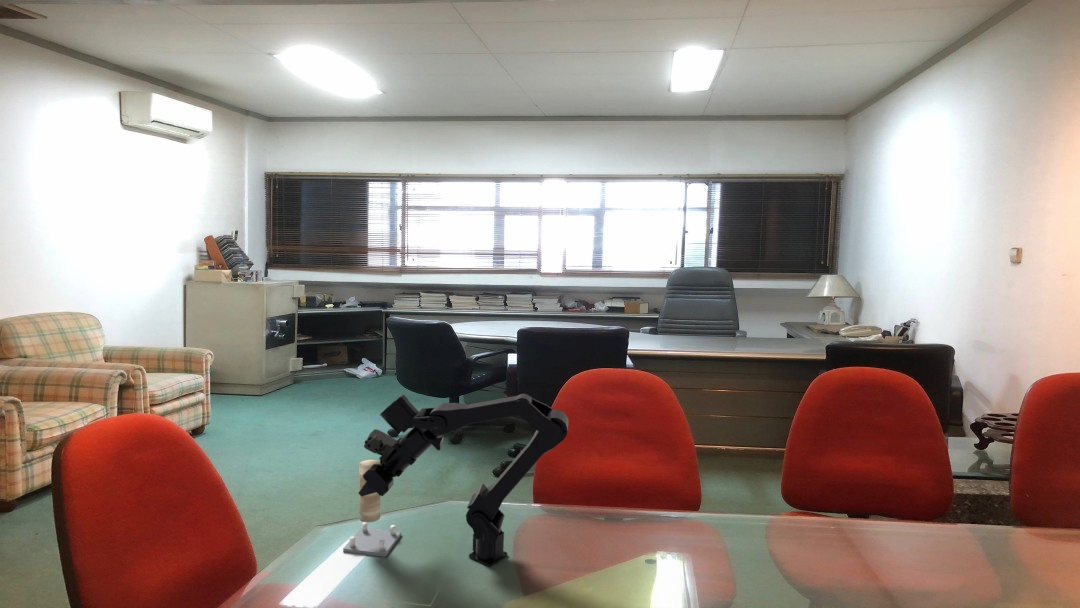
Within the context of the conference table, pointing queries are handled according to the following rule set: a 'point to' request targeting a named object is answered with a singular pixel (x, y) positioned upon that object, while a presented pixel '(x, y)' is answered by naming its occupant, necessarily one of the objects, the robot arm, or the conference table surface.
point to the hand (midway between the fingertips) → (364, 490)
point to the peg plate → (372, 541)
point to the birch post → (368, 496)
